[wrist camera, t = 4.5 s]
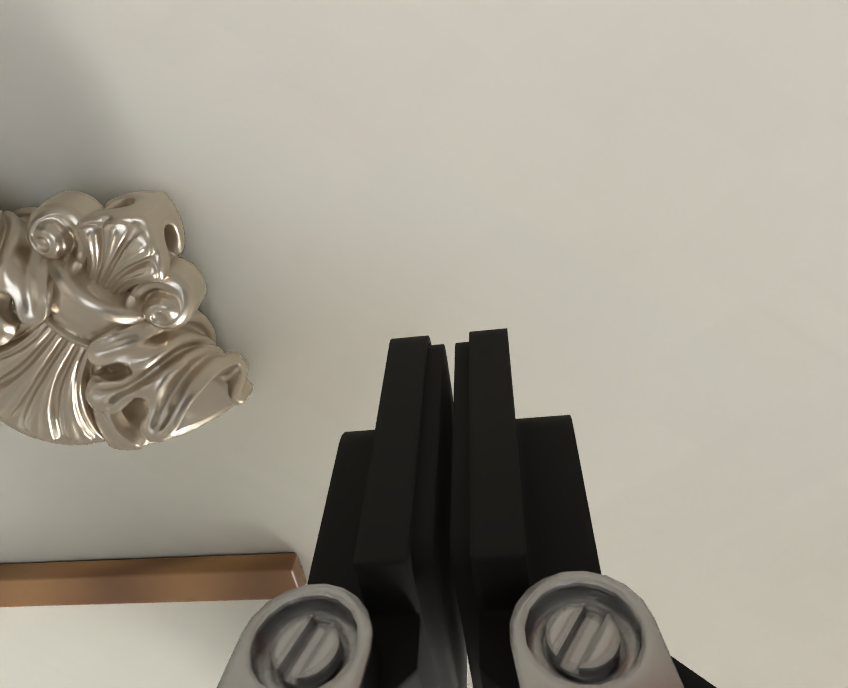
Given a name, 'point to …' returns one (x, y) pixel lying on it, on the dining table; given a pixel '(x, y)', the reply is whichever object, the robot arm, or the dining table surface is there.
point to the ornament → (107, 325)
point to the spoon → (150, 580)
